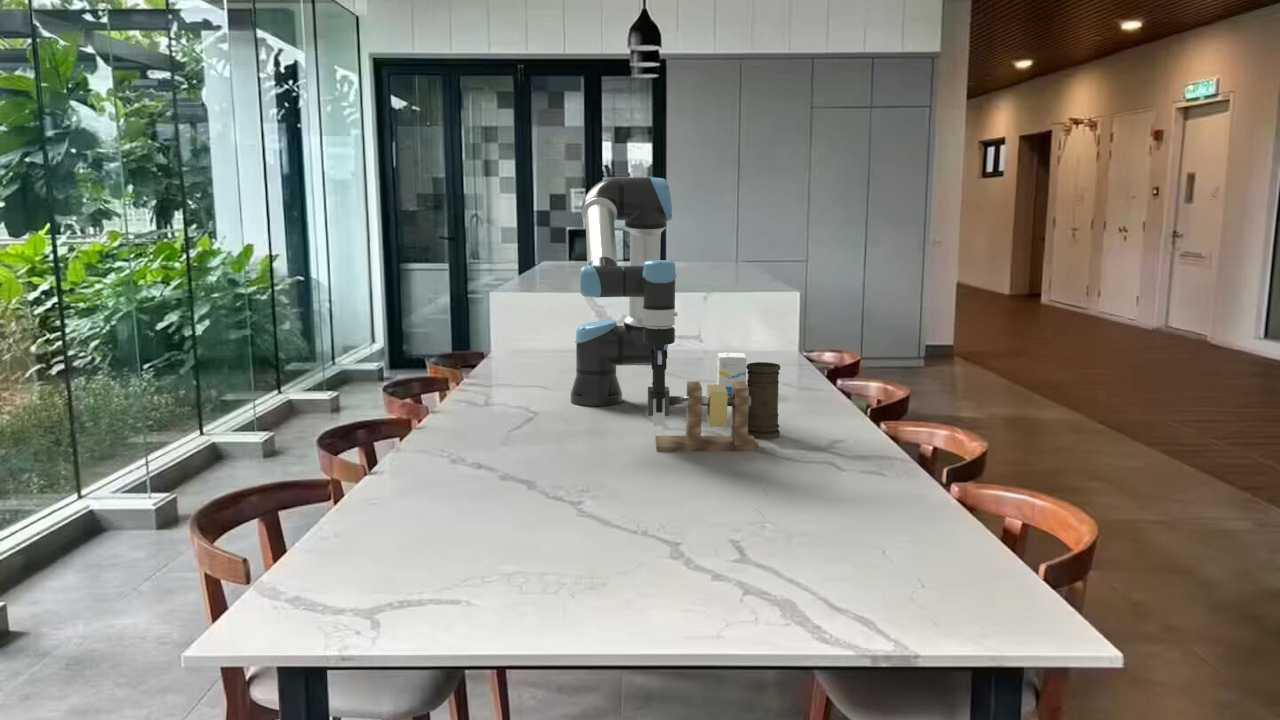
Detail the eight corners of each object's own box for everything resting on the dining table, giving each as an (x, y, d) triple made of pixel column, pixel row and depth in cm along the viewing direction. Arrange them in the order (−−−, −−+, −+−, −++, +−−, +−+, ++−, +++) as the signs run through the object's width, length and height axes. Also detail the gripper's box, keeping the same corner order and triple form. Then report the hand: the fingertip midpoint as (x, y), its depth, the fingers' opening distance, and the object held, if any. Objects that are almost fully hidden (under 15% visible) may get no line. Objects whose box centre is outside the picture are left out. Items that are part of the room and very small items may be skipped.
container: (778, 440, 227) (781, 368, 224) (742, 438, 229) (743, 367, 226) (780, 431, 236) (782, 362, 233) (745, 429, 238) (747, 360, 235)
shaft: (648, 415, 218) (648, 391, 217) (647, 410, 223) (647, 386, 222) (751, 415, 218) (752, 391, 217) (748, 411, 223) (749, 386, 222)
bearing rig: (656, 451, 217) (657, 389, 214) (655, 440, 227) (655, 380, 224) (758, 451, 217) (760, 389, 215) (752, 440, 227) (754, 380, 224)
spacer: (709, 426, 217) (710, 391, 215) (706, 418, 225) (707, 384, 224) (726, 426, 217) (727, 391, 215) (723, 418, 225) (723, 384, 224)
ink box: (746, 395, 279) (747, 357, 277) (718, 394, 280) (718, 356, 278) (743, 389, 288) (744, 352, 286) (716, 389, 288) (717, 352, 286)
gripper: (677, 332, 207) (676, 431, 211) (672, 320, 227) (671, 411, 231) (643, 332, 207) (643, 431, 211) (642, 320, 227) (641, 411, 231)
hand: (658, 421), depth 221 cm, fingers open, 7 cm apart
